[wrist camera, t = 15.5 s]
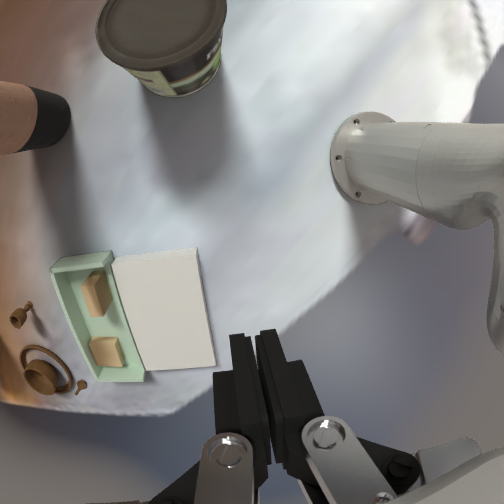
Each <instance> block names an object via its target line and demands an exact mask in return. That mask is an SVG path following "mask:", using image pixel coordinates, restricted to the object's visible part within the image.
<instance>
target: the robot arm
mask: <svg viewBox="0 0 504 504" xmlns="http://www.w3.org/2000/svg"><path fill="white" fill-rule="evenodd" d="M354 121H355V123H354ZM336 156H337V157H338V158H337V160H336ZM330 161H331V167H332V171H333V174H334V177H335V179H336V181H337V183H338V185H339V186H340V187H341V189H342V190H343V191H344V192H345V193H346V194H347V195H349V196H350V197H351V198H353V199H355V200H357V201H359V202H362V203H365V204H371V205H372V204H381V203H384V202H387V201H390V202H392V203H395V204H397V205H399V206H402V207H404V208H406V209H409V210H411V211H413V212H416V213H418V214H420V215H422V216H424V217H427V218H429V219H431V220H433V221H436V222H438V223H440V224H442V225H444V226H447V227H449V228H452V229H457V230H468V229H472V228H475V227H477V226H480V225H481V224H483V223H485V222H486V221H488V220H489V219H491V220H492V223H493V227H494V258H493V269H492V277H491V285H490V291H489V298H488V306H487V329H488V334H489V337H490V339H491V341H492V343H493V345H494V346H495V348H496V349H497V350H498V351H499V352H500V353H501V354H502V355H504V124H469V123H438V122H395V121H394V120H393V119H391V118H390V117H389V116H386V115H384V114H382V113H378V112H362V113H358V114H355V115H353V116H351V117H350V118H348V119H347V120H345V121H344V122H343V123H342V124H341V126H340V127H339V128H338V130H337V132H336V133H335V136H334V138H333V141H332V145H331V151H330ZM355 193H356V195H355ZM229 338H230V347H231V356H232V364H233V370H230V371H221V372H213V392H214V412H215V428H216V435H214V436H213V437H211V438H210V439H208V440H207V442H206V443H205V444H204V446H203V448H202V452H201V458H200V461H199V462H198V463H197V464H195V465H194V466H193V467H192V468H190V469H189V470H188V471H187V472H186V473H185V474H183V475H182V476H181V477H180V478H178V479H177V480H176V481H175V482H174V483H172V484H171V485H170V486H169V487H167V488H166V489H164V490H163V491H162V492H161V493H159V494H158V495H157V496H155V497H154V498H153V499H152V500H151V501H145V502H140V501H139V500H137V501H126V502H112V503H87V504H259V487H260V486H261V485H262V484H263V483H264V482H265V481H266V479H267V478H268V470H267V465H270V464H271V447H270V438H271V443H272V447H273V452H274V456H275V460H276V463H282V465H283V469H286V470H287V474H289V475H290V476H292V477H294V478H297V479H298V483H299V485H300V487H301V489H302V491H303V493H304V495H305V497H306V499H307V501H308V503H309V504H504V447H502V448H497V449H494V450H491V451H488V452H485V453H483V454H482V452H481V449H480V447H479V445H478V443H477V442H476V441H475V440H473V439H472V438H468V437H466V438H460V439H457V440H454V441H451V442H448V443H444V444H440V445H437V446H433V447H430V448H426V449H421V450H418V451H417V452H416V453H413V454H409V453H406V452H402V451H399V450H396V449H392V448H389V447H385V446H382V445H379V444H376V443H373V442H370V441H367V440H364V439H361V438H358V437H356V436H355V435H354V433H353V432H352V430H351V429H350V428H349V426H348V425H347V424H346V423H345V422H344V421H343V420H341V419H339V418H337V417H332V416H325V415H324V413H323V410H322V408H321V405H320V403H319V400H318V398H317V395H316V393H315V390H314V388H313V385H312V383H311V381H310V378H309V376H308V373H307V371H306V368H305V366H304V363H303V361H302V360H297V361H291V362H287V361H286V358H285V355H284V353H283V349H282V347H281V344H280V341H279V338H278V335H277V332H276V329H270V330H263V331H260V335H256V336H255V343H256V354H257V364H256V360H255V355H254V350H253V346H252V341H251V337H250V336H248V337H245V336H244V333H241V334H233V335H229ZM257 365H258V369H257Z"/></svg>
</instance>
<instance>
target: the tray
mask: <svg viewBox="0 0 504 504" xmlns="http://www.w3.org/2000/svg"><path fill="white" fill-rule="evenodd" d="M113 262H114V257H113V253H112V251H104V252H97V253H90V254H83V255H75V256H68V257H62V258H60V259H59V260H58V261H57V262H56V263H55V264H54V265H53V266H51V267H50V268H49V272H50V275H51V278H52V281H53V284H54V287H55V290H56V293H57V295H58V298H59V301H60V303H61V306H62V309H63V311H64V314H65V316H66V319H67V321H68V323H69V326H70V328H71V330H72V333H73V335H74V337H75V340H76V342H77V344H78V346H79V348H80V350H81V352H82V354H83V357H84V359H85V361H86V363H87V365H88V367H89V368H90V370H91V372H92V374H93V376H94V378H95V380H96V382H144V378H145V374H146V369H145V366H144V364H143V361H142V358H141V356H140V353H139V351H138V348H137V345H136V342H135V340H134V337H133V334H132V331H131V328H130V325H129V322H128V319H127V316H126V313H125V310H124V307H123V304H122V301H121V297H120V294H119V291H118V287H117V284H116V280H115V277H114V273H113V269H112V265H111V264H112V263H113ZM101 270H105V273H106V276H107V280H108V284H109V287H110V291H111V294H112V297H113V300H112V302H111V304H110V306H109V308H108V309H107V311H106V313H105V315H104V316H103V317H91V316H90V313H89V311H88V308H87V305H86V302H85V299H84V296H83V293H82V290H81V287H80V286H81V285H82V284H83V283H84V281H85V280H86V279H87V278H88V276H89V275H90V274H91V272H92V271H101ZM93 336H97V337H118V339H119V342H120V345H121V348H122V351H123V354H124V357H125V360H124V364H123V367H112V366H97V363H96V361H95V359H94V356H93V354H92V351H91V348H90V346H89V343H90V341H91V339H92V337H93Z"/></svg>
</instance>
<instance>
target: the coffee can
mask: <svg viewBox="0 0 504 504" xmlns="http://www.w3.org/2000/svg"><path fill="white" fill-rule="evenodd" d="M226 13H227V2H226V0H106V2H105V3H104V5H103V6H102V8H101V10H100V13H99V15H98V18H97V22H96V39H97V43H98V45H99V47H100V49H101V51H102V52H103V54H104V55H105V56H106V57H107V58H108V59H110V60H111V61H112V62H114V63H116V64H117V65H119V66H121V67H123V68H124V69H125V70H127V71H128V72H129V73H130V74H132V75H133V76H134V77H135V78H137V79H138V80H139V81H140V82H142V83H143V84H144V86H145V87H146V88H147V89H149V90H150V91H152V92H154V93H156V94H158V95H161V96H165V97H182V96H187V95H190V94H192V93H195V92H197V91H199V90H200V89H202V88H203V87H205V86H206V85H207V84H208V83H209V82H210V81H211V80H212V79H213V77H214V76H215V74H216V73H217V71H218V68H219V65H220V61H221V43H222V34H223V25H224V22H225V18H226Z"/></svg>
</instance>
